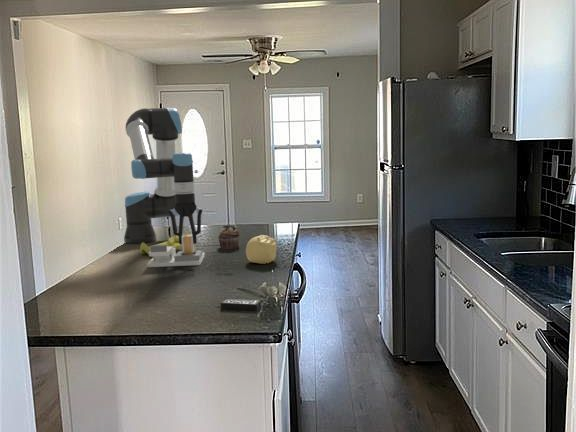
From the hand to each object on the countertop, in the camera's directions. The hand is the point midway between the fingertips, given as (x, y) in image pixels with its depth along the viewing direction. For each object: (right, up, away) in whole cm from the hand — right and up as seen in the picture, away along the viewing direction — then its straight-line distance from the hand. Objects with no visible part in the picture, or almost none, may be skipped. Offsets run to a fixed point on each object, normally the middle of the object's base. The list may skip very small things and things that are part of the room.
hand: (188, 251), depth 220 cm
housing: (-5, -4, +3) cm, 7 cm away
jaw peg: (0, -2, 0) cm, 2 cm away
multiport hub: (+26, -13, -60) cm, 67 cm away
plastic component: (-14, -2, +21) cm, 25 cm away
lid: (-10, 0, -3) cm, 10 cm away
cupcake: (+13, 0, +27) cm, 30 cm away
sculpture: (+29, -4, -5) cm, 30 cm away
